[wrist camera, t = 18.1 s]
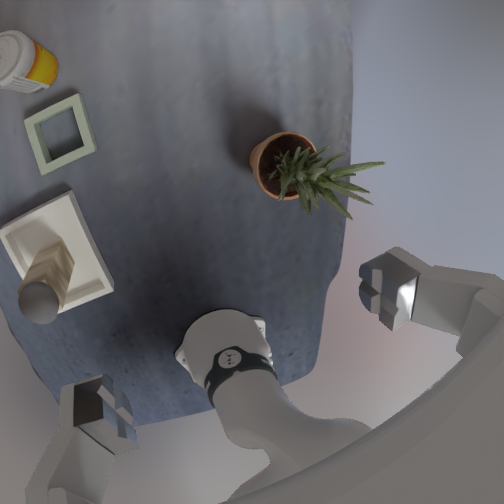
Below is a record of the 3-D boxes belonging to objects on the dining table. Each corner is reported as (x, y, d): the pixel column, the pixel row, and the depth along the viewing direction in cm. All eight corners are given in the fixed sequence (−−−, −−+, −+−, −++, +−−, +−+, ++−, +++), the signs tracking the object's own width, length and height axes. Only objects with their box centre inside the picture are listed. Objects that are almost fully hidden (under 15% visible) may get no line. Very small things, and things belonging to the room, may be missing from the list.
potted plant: (274, 116, 43) (396, 133, 23) (304, 163, 48) (421, 211, 28) (223, 156, 43) (316, 203, 23) (258, 201, 48) (357, 276, 28)
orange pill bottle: (53, 45, 26) (19, 16, 14) (64, 80, 30) (31, 64, 17) (17, 67, 25) (-31, 51, 13) (27, 102, 28) (-19, 100, 16)
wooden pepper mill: (78, 264, 40) (65, 316, 30) (51, 276, 39) (33, 329, 28) (63, 234, 38) (43, 280, 27) (36, 247, 37) (10, 295, 26)
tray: (114, 281, 45) (113, 290, 42) (50, 307, 42) (47, 318, 39) (72, 189, 37) (68, 194, 34) (4, 224, 34) (-3, 231, 31)
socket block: (98, 148, 36) (95, 150, 33) (47, 171, 34) (41, 176, 31) (82, 94, 32) (78, 93, 29) (30, 119, 30) (23, 120, 27)
